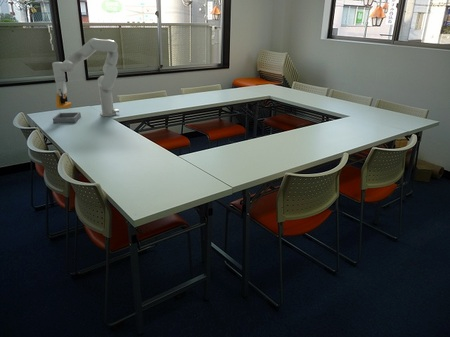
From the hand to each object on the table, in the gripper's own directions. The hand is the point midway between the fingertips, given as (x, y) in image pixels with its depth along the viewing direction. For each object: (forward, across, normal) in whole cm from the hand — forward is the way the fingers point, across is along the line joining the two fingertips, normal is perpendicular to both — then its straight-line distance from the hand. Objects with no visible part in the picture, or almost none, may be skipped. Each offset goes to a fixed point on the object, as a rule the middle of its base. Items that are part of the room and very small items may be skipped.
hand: (64, 102), depth 281 cm
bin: (+14, 0, 0) cm, 14 cm away
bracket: (+4, 0, 0) cm, 4 cm away
